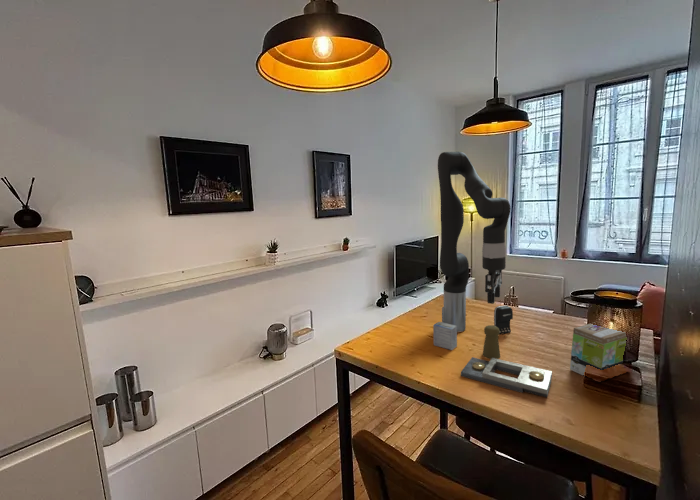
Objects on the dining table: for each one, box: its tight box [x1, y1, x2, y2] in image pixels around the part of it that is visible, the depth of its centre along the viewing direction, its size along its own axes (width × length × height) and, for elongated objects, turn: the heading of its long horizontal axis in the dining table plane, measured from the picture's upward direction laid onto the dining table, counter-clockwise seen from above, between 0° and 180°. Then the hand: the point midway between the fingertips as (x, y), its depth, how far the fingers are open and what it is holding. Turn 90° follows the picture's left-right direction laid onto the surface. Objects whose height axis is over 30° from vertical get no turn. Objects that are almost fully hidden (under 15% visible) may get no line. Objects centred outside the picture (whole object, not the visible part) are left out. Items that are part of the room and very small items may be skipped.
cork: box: [482, 324, 501, 360], centre depth 125 cm, size 6×6×11 cm
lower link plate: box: [460, 356, 524, 394], centre depth 112 cm, size 18×12×2 cm, turn 54°
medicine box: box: [432, 321, 458, 351], centre depth 135 cm, size 8×4×9 cm, turn 47°
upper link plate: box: [482, 358, 553, 398], centre depth 108 cm, size 18×12×4 cm
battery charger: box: [493, 305, 514, 335], centre depth 144 cm, size 7×4×11 cm, turn 103°
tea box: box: [569, 323, 627, 376], centre depth 111 cm, size 15×10×15 cm, turn 114°
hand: (493, 300), depth 124 cm, fingers open, 8 cm apart
